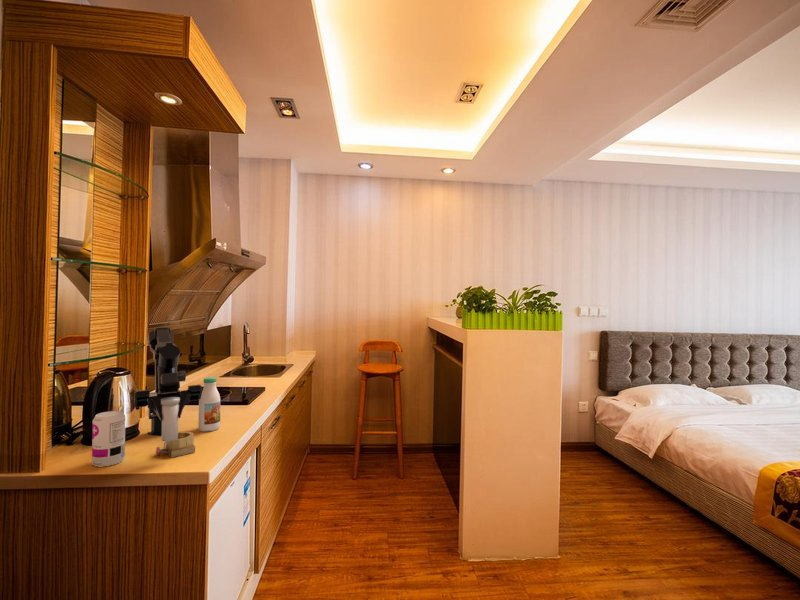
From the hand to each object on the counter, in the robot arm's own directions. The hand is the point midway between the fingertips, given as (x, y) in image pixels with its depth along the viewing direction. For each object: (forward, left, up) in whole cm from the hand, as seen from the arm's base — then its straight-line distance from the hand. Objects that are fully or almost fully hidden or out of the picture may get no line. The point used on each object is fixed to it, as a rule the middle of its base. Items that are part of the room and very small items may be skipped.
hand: (170, 418), depth 124 cm
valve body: (-7, +8, -14) cm, 17 cm away
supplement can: (-18, -6, -14) cm, 23 cm away
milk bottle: (-12, +30, -14) cm, 35 cm away
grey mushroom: (-1, +1, -7) cm, 7 cm away
